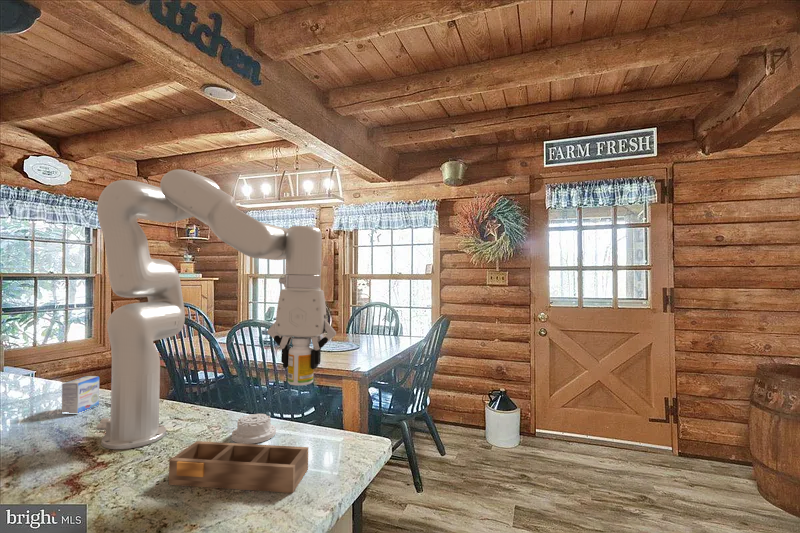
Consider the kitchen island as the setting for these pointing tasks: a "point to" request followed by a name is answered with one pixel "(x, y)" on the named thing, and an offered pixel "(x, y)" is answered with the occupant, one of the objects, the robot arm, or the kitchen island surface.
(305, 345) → the supplement bottle
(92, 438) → the kitchen island surface
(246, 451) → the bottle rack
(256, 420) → the mechanical component
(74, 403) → the medicine box
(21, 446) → the kitchen island surface
